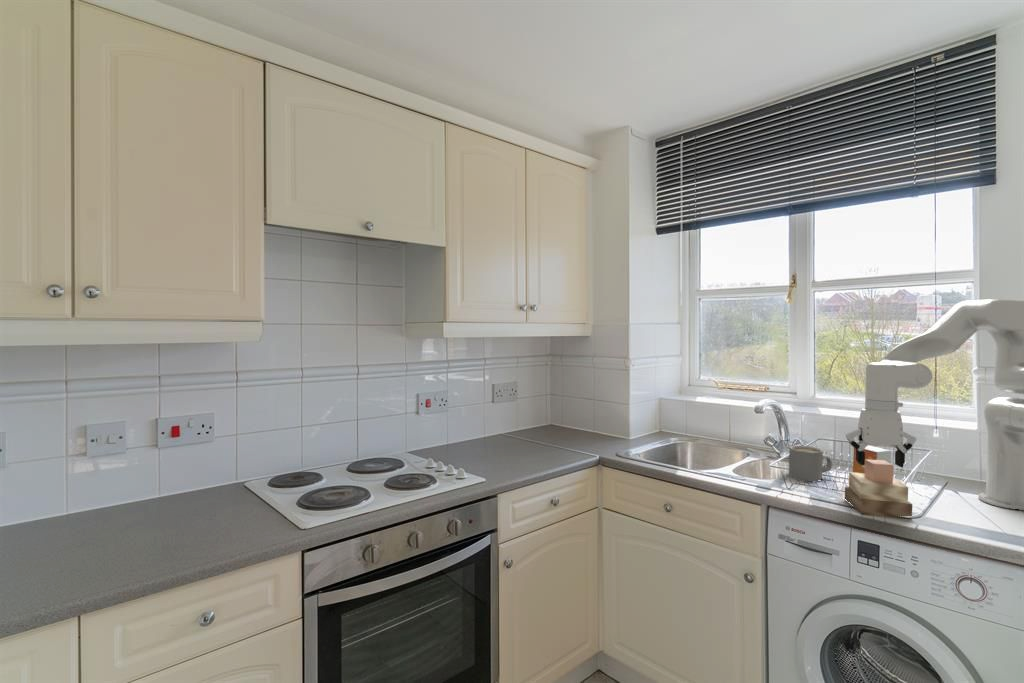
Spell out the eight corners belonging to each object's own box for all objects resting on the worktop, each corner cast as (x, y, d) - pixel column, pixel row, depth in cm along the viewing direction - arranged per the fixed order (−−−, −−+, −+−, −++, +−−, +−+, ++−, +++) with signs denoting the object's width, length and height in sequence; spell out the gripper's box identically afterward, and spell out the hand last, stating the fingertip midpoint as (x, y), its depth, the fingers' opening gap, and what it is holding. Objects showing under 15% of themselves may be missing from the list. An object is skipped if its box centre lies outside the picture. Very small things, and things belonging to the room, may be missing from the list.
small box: (851, 484, 167) (853, 445, 167) (866, 482, 169) (867, 444, 169) (875, 492, 160) (877, 451, 159) (890, 490, 162) (891, 450, 161)
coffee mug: (792, 480, 172) (792, 451, 172) (786, 472, 181) (786, 444, 181) (837, 484, 168) (838, 454, 167) (828, 475, 177) (829, 447, 177)
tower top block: (892, 490, 149) (892, 475, 149) (907, 503, 139) (908, 487, 138) (848, 486, 153) (849, 472, 152) (860, 498, 142) (861, 482, 142)
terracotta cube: (883, 477, 147) (884, 460, 147) (892, 482, 142) (893, 464, 142) (864, 476, 148) (864, 459, 148) (872, 481, 143) (873, 463, 143)
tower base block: (889, 504, 150) (890, 489, 150) (911, 520, 138) (912, 504, 138) (844, 501, 153) (844, 486, 153) (862, 516, 141) (862, 500, 141)
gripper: (908, 404, 146) (907, 463, 147) (841, 402, 150) (840, 459, 151) (923, 409, 139) (921, 470, 140) (852, 407, 143) (851, 466, 143)
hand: (879, 464), depth 145 cm, fingers open, 9 cm apart
